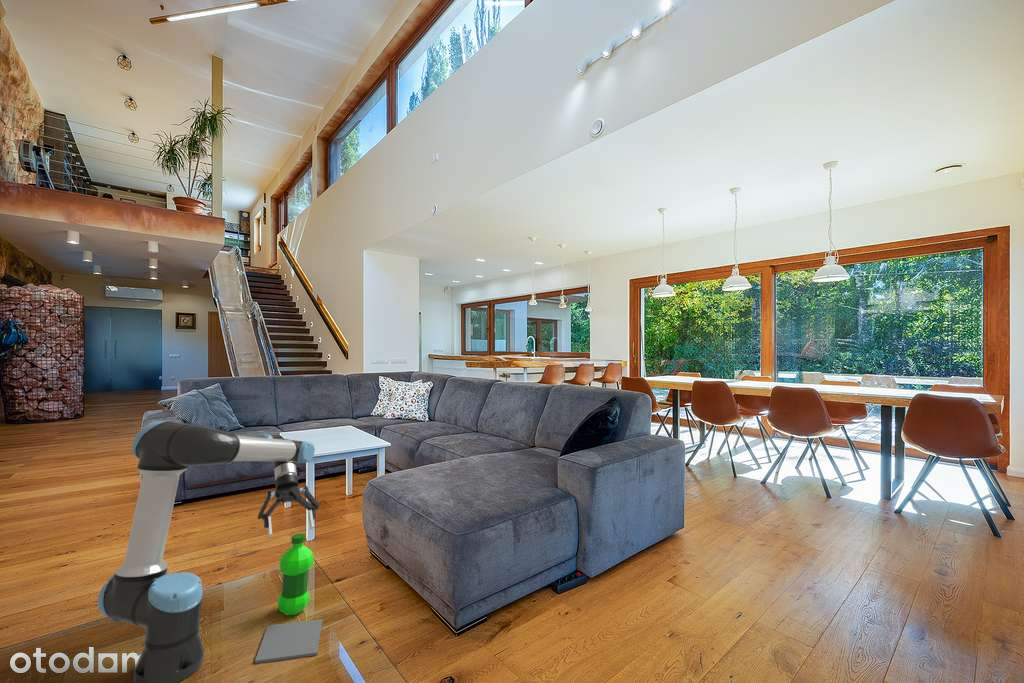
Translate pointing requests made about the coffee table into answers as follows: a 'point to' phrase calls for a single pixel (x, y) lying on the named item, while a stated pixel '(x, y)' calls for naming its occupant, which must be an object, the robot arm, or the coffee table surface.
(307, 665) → the coffee table surface
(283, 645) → the rubber coaster
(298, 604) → the plastic bottle
